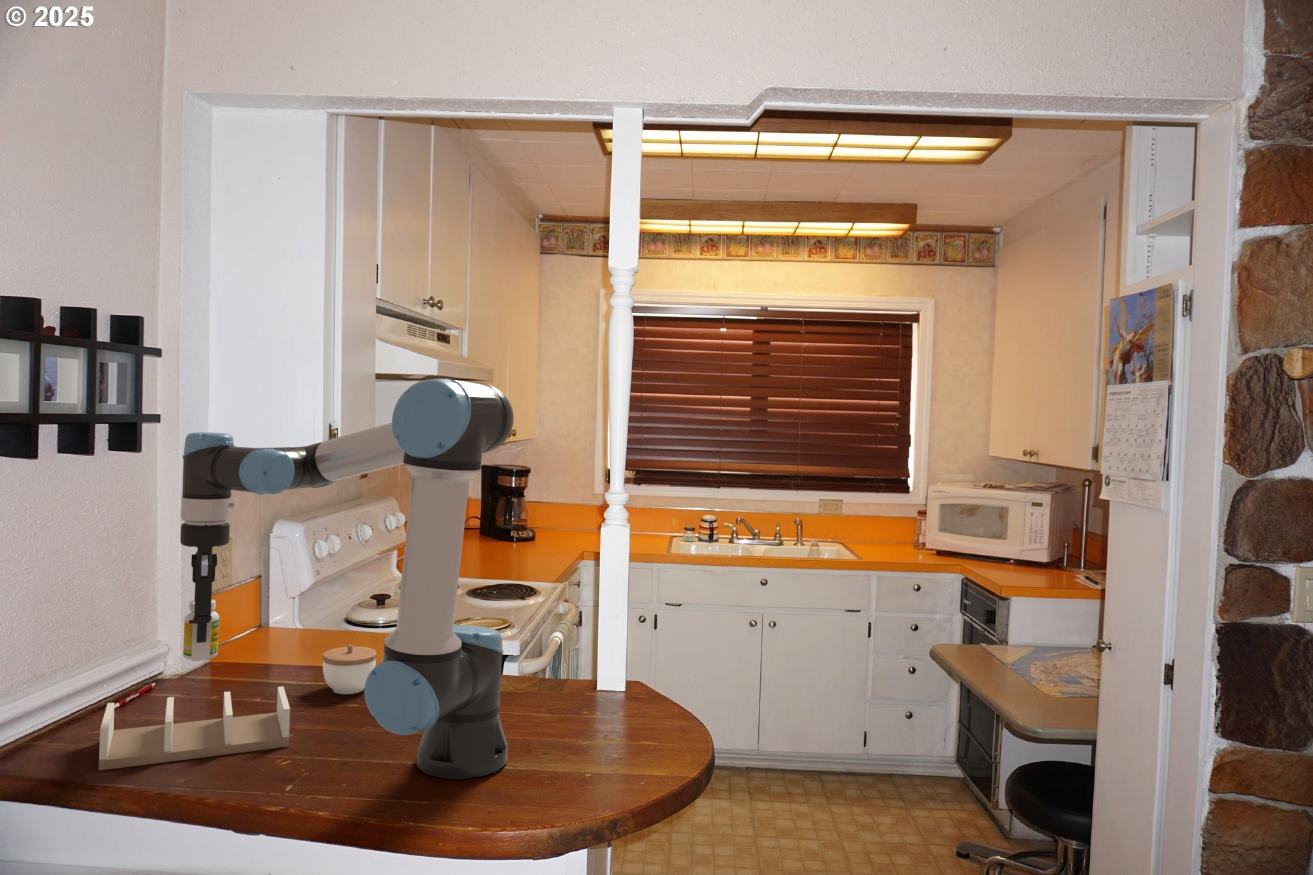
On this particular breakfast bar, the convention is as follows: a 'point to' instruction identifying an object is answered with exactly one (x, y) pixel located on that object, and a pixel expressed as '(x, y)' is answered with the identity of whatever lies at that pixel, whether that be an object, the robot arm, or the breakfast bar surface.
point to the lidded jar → (348, 668)
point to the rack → (193, 736)
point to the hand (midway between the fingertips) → (200, 654)
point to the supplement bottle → (189, 631)
